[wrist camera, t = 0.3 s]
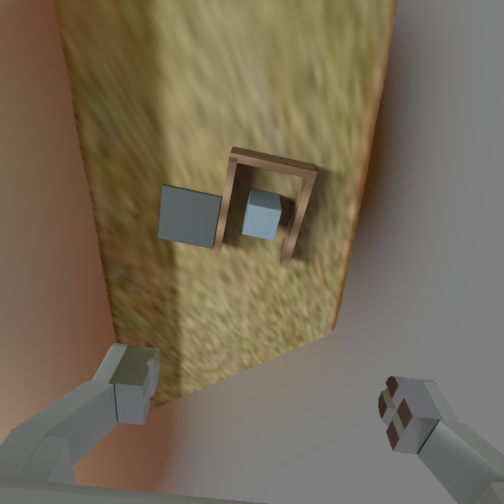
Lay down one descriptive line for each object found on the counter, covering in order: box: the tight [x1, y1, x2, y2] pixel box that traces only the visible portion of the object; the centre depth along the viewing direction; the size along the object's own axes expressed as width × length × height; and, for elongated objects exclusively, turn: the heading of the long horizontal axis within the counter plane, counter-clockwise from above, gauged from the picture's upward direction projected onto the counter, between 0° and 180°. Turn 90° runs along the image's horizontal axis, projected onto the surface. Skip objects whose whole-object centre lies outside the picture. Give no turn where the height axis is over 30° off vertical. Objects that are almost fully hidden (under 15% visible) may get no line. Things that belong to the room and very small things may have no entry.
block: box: [242, 188, 282, 241], centre depth 53 cm, size 5×5×8 cm
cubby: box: [213, 147, 317, 269], centre depth 54 cm, size 17×13×5 cm
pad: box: [158, 184, 221, 249], centre depth 58 cm, size 10×10×1 cm
